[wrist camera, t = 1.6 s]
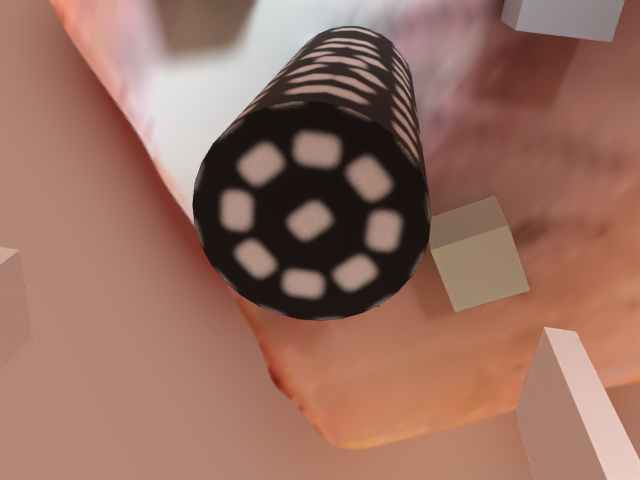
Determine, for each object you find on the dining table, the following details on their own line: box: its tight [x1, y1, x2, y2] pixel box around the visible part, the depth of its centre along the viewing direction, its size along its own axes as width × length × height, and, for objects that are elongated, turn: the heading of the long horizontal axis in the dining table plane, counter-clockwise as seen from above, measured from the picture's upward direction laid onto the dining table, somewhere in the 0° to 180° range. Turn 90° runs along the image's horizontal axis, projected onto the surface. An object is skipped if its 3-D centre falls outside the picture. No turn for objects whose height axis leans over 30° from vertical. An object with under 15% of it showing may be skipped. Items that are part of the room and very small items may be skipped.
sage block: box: [429, 195, 530, 312], centre depth 39 cm, size 5×5×5 cm
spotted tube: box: [192, 26, 431, 321], centre depth 29 cm, size 8×8×20 cm
